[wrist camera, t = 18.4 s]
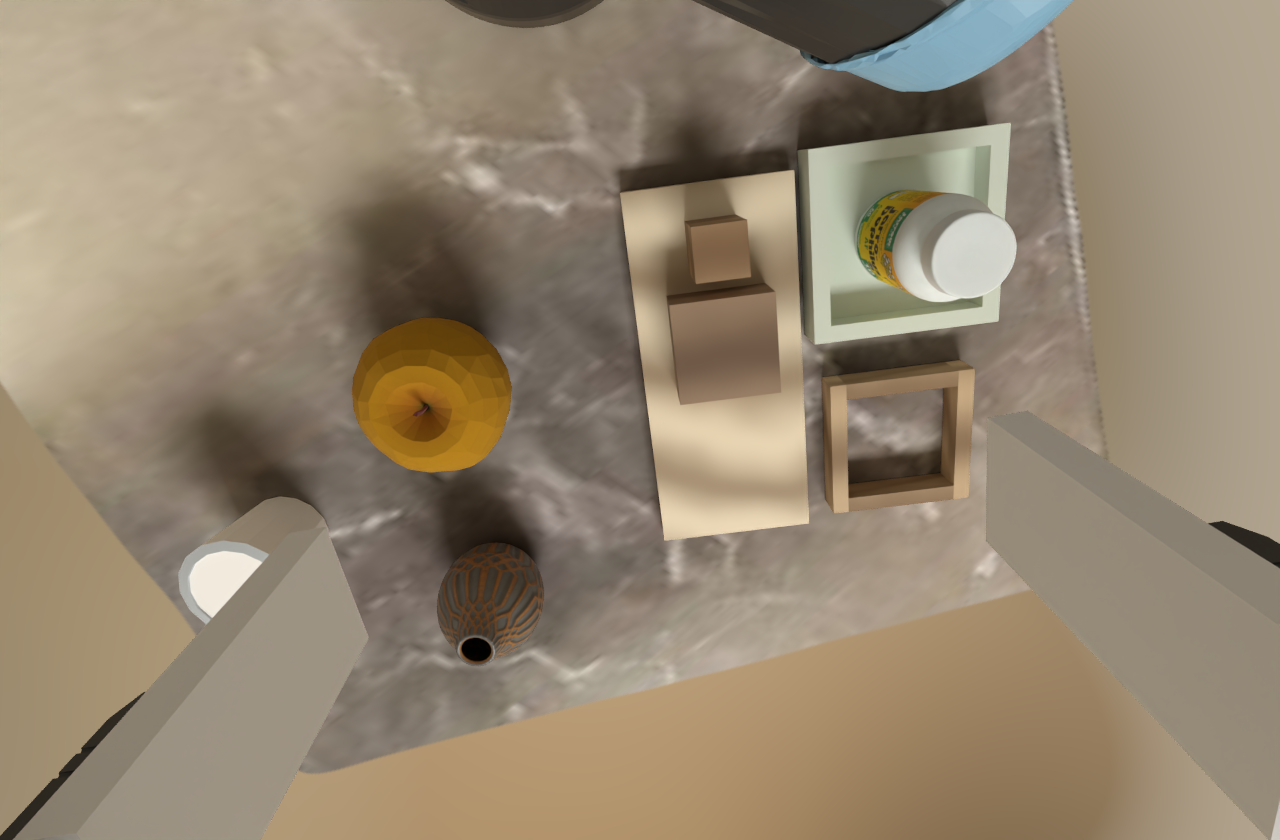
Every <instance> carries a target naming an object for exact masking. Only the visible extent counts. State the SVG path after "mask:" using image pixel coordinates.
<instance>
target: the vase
mask: <svg viewBox="0 0 1280 840" xmlns="http://www.w3.org/2000/svg"><path fill="white" fill-rule="evenodd" d="M543 601H544V587H543V582H542V578H541V575H540V572H539V570H538V568H537V566H536V564H535V563H534V561H533V560H532V559H531V558H530V557H529V556H528V555H527V554H526V553H525V552H524V551H522V550H521V549H519V548H517V547H515V546H512V545H509V544H505V543H486V544H482V545H479V546H476V547H474V548H472V549H470V550H468V551H467V552H465V553H464V554H463V555H461V556H460V557H459V558H458V559H457V560H456V561H455V562H454V563H453V564H452V566H451V567H450V569H449V570H448V572H447V573H446V575H445V577H444V579H443V581H442V584H441V587H440V590H439V594H438V600H437V614H438V621H439V625H440V628H441V631H442V633H443V635H444V636H445V638H446V640H447V641H448V642H449V643H450V644H451V646H452V647H453V648H454V649H456V652H457V655H458V657H459V658H460V659H461V660H462V661H463V662H464V663H466V664H468V665H471V666H483V665H486V664H488V663H490V662H491V661H492V660H493V659H496V658H500V657H503V656H505V655H508V654H510V653H512V652H513V651H515V650H516V649H518V648H519V647H520V646H521V645H522V644H523V643H524V642H525V641H526V640H527V639H528V638H529V636H530V635H531V634H532V632H533V631H534V629H535V627H536V625H537V623H538V621H539V619H540V616H541V612H542V608H543Z"/></svg>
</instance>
